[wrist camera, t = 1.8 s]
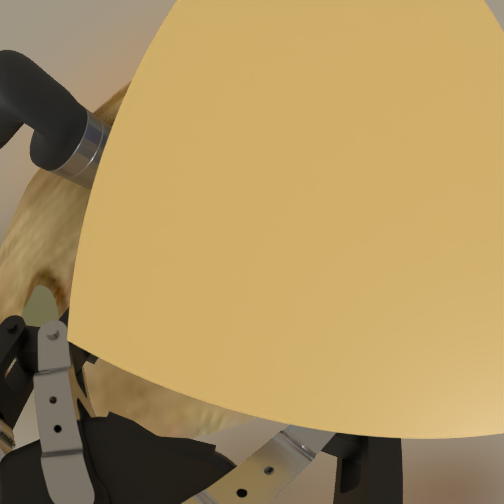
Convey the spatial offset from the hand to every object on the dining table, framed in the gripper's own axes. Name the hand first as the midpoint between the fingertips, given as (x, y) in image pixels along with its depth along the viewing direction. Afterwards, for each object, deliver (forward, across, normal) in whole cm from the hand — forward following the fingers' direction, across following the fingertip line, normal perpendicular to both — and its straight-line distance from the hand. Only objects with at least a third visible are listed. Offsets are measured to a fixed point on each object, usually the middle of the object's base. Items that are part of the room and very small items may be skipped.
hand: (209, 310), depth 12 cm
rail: (+1, -2, -14) cm, 14 cm away
